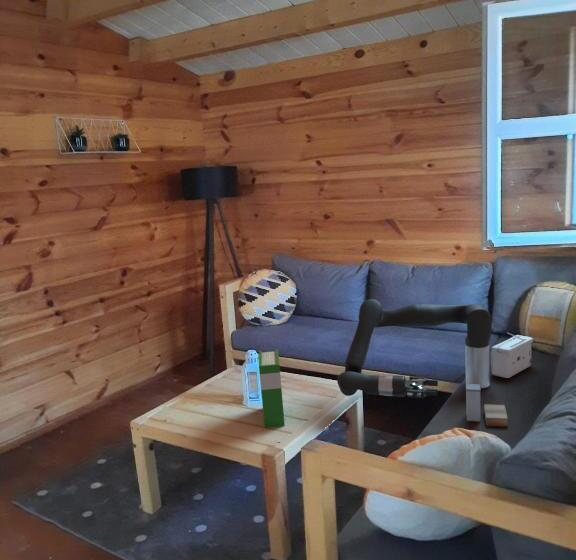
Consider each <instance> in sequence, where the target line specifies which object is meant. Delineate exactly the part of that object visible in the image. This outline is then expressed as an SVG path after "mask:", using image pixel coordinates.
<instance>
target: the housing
mask: <svg viewBox="0 0 576 560" xmlns="http://www.w3.org/2000/svg"><path fill="white" fill-rule="evenodd" d="M481 389H482V388H480V384H466V383H465V396H466V397H465V399H466V400H465V401H466V403H465V404H466V406H465V408H466V409H465V410H466V412H465V414H466V421H467V422H481V419H482V418H481V392H482V391H481Z"/></svg>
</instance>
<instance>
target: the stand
mask: <svg viewBox="0 0 576 560" xmlns="http://www.w3.org/2000/svg"><path fill="white" fill-rule="evenodd" d="M483 410H484V411H483V412H484V413H483V414H484V420H485V426H486V427H488V426H489V427H504V428H505V427H508V424H509V423H508V421H509V420H508V415H507V409H506V406H505V404H489V403H486V404H485V403H484V404H483Z"/></svg>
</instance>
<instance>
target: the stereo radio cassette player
mask: <svg viewBox="0 0 576 560" xmlns="http://www.w3.org/2000/svg"><path fill="white" fill-rule="evenodd" d="M506 334H508V335H510V336H512V337H510V338H508V339H507V340H504V341H502V342H500V343H498V344H495V345H493V346H492V347H491V353H490V355H491V356H490V360H491V361H490V363H491V364H490V365H491V367H490V368H491V374H492V375H494V376H495V377H501V378H504V379H507V378H508V379H509V378H511V377H513V376H515V375H517V374H518V373H520V372H522V371H524V370H527V368H529V367H531V365H532V343H534V338H533V337H530V336H525V335H520V334H516V335H514V334H512V333H509V332H508V331H507V332H506Z"/></svg>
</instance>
